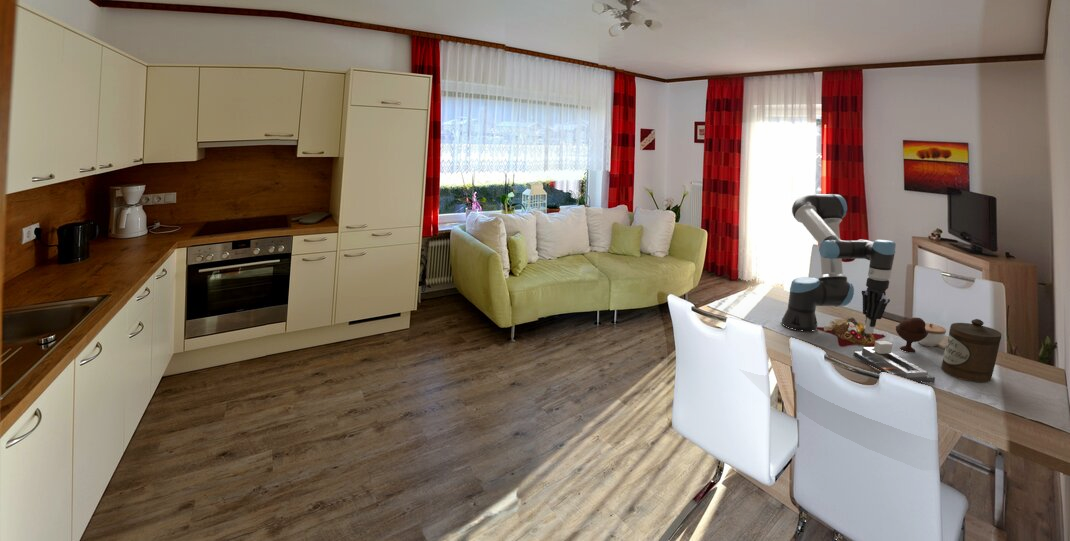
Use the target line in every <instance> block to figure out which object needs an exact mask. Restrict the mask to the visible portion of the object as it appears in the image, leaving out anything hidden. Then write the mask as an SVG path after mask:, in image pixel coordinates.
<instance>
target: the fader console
mask: <svg viewBox="0 0 1070 541" xmlns="http://www.w3.org/2000/svg"><path fill="white" fill-rule="evenodd" d="M887 354H889V358H888V359H887V358H886V357H884V356H882V355H880V354H879V353H877V352H875V351H874V346H866V347H865V346H864V347H862V349H861V351H853V357H854V356H855V358H856V359H858V360H860V362H862V361H863V362H862V363H864V362H865V363H864V364H866V363H867V364H869V365H871V366H873V367H875V368H877V369H879V370H881V372H887V373H892V374H894V375H897V376H901V377H904V378H907V379H910V380H913V381H916V382H920V383H919V384H923V383H922V382H926V383H927V382H928V383H930V382H932V383H935V380H936V377H935V376H933V375H931V374H929V373H928V371H926V370H924V369H922V368H921V367H919V366H917V365H915V364H913V363H912V362H910V361H908V360H907V359H904V358H902V357H901V356H900V355H898V354H895V353H893V352H892V351H891V353H887ZM867 364H866V365H867ZM869 365H868V366H869ZM871 366H870V367H871ZM921 381H922V382H921ZM928 383H927V384H928Z"/></svg>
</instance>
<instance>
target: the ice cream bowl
mask: <svg viewBox="0 0 1070 541" xmlns="http://www.w3.org/2000/svg"><path fill="white" fill-rule="evenodd" d="M925 323H926V322H925V321H924V320H923V318H921V317H912V318H909V319H908V318H907V319H903V320H902V321H901V322H900V323H899V324H897V325H896V326H895V330H896V334H897V335H898V337H899V338H901V339H902V340H904V342H905V341H906V343H905V345H904V346H903V345H902V346H900V347H899V350H900V349H901V351H902V350H903V351H902V352H904V351H906V352H905V353H909V352H913V353H912V354H914V353H916V351H917V350H915V348H914V347H912V344H913V343H917V342H918V341H920V340H922V339H924V338H925V337H926V336H927V335H928V333H929V332H928V331H926V329H925ZM918 343H919V342H918Z"/></svg>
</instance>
